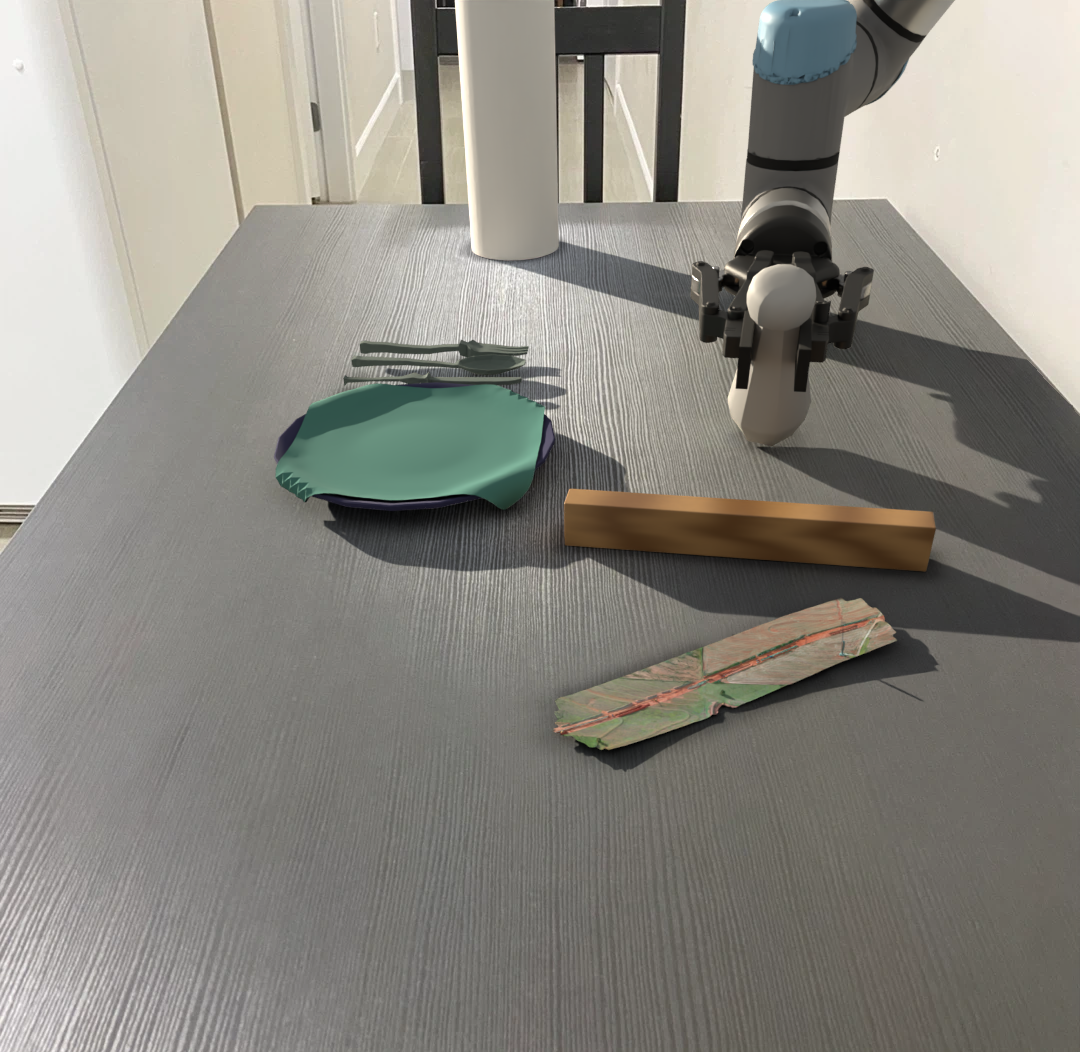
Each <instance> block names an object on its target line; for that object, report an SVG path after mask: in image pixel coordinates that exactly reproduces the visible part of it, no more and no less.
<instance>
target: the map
mask: <svg viewBox="0 0 1080 1052" xmlns="http://www.w3.org/2000/svg"><path fill="white" fill-rule="evenodd" d="M885 620H886V618H885V615H884V613H882V612H881V610H880V609H878V608H877V607H871V606H870V605H869V604H868V603H867V602H866V601H865V600H864V599H863V598H861V597H860V598H856V599H852V600H851V599H850V600H845V599H844V598H843V597H840V598H837V599H833V600H830V601H826V602H824V603H820V604H818V605H814V606H811V607H807V608H804V609H802V610H798V611H795V612H792V613H789V614H785V615H782V616H779V617H778V618H775V619H773V620H770V621H768V622H764V623H762V624H758V625H756V626H754V627H752V628H748V629H745V630H744V631H741V632H738V633H735V634H733V635H731V636H727V637H725V638H722V639H719V640H717V641H715V642H713V643H709V644H707V645H704V646H701V647H698V648H696V649H693V650H690V651H687V652H685V653H683V654H680V655H677V656H675V657H672V658H669V659H667V660H665V661H664V660H663V661H661V662H659V663H655V664H654V665H653V664H652V665H651V666H648V667H645V668H642V669H638V670H637V671H634V672H630V673H628V674H625V675H623V676H620V677H617V678H615V679H611V680H609V681H606V682H603V683H600V684H598V685H593V686H591V687H589V688H586V689H583V690H580V691H577V692H573V693H572V694H567V695H564V696H560V697H558V698H555V700H554V703H555V706H557V708H558V710H555V711H554V712H553V714H554V715H555V717H556V721H555V722H554V725H556V727H554V728H552V732H554V733H556V734H560V735H561V736H564V737H573V739H574V740H576V742H577V741H578V742H580V743H582V744H584V745H586V746H587V747H589V748H597V749H599V750H601V751H602V750H604V749H605V750H608V751H610V750H613V749H617V748H620V747H625V746H628V745H631V744H634V743H637V742H641V741H644V740H646V739H650V738H653V737H656V736H659V735H662V734H665V733H667V732H671V731H673V730H677V729H679V728H683V727H685V726H688V725H691V724H693V723H697V722H700V721H703V720H706V719H708V718H710V717H711V716H712V715H714V716H715V715H718V713H719V710H720V708H721V707H722V706H725V707H728V708H731V709H734V708H738V707H740V706H742V705H745V704H746V703H749V702H751V701H754V700H756V699H758V698H760V697H763V696H765V695H769V694H770V693H772V692H775V691H777V690H779V689H782V688H784V687H786V686H789V685H793V684H794V683H797V682H799V681H801V680H804V679H806V678H808V677H811V676H813V675H815V674H818V673H820V672H821V671H824V670H826V669H829V668H830V667H833V666H835V665H838V664H841V663H842V662H846V661H848V660H851V659H853V658H856V657H858V656H861V655H863V654H867V653H870V652H871V651H874V650H876V649H879V648H881V647H884V646H886V645H890V644H892V643H894V642H895V643H896V642H897V641H898V639H897V638H896V637H894V635H895V634H896V633H897V631H896V630H894V629H893V627H892V626H891V625H890V624H889V622H887V621H885Z"/></svg>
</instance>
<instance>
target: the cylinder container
mask: <svg viewBox="0 0 1080 1052" xmlns="http://www.w3.org/2000/svg"><path fill="white" fill-rule="evenodd" d="M454 7H455V8H454V9H455V22H456V23H455V24H456V36H457V39H456V40H457V50H458V52H457V54H458V67H459V83H460V96H461V111H462V125H463V138H464V141H463V142H464V154H465V168H466V169H465V170H466V171H465V172H466V183H467V184H466V185H467V186H466V187H467V199H468V200H467V202H468V214H469V228H470V246H471V251H472V253H473V254H475V255H476V256H479V257H480V258H485V259H488V260H489V259H490V260H495V261H524V260H533V259H537V258H542V257H545V256H549V255H551V254H553V253H555V252H556V251H558V249H559V247H560V246H559V245H560V234H559V233H560V232H559V231H560V228H559V185H558V184H559V181H558V177H559V176H558V131H557V130H558V127H557V124H558V123H557V75H556V74H557V73H556V72H557V71H556V69H557V68H556V21H555V19H556V17H555V0H454Z"/></svg>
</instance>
